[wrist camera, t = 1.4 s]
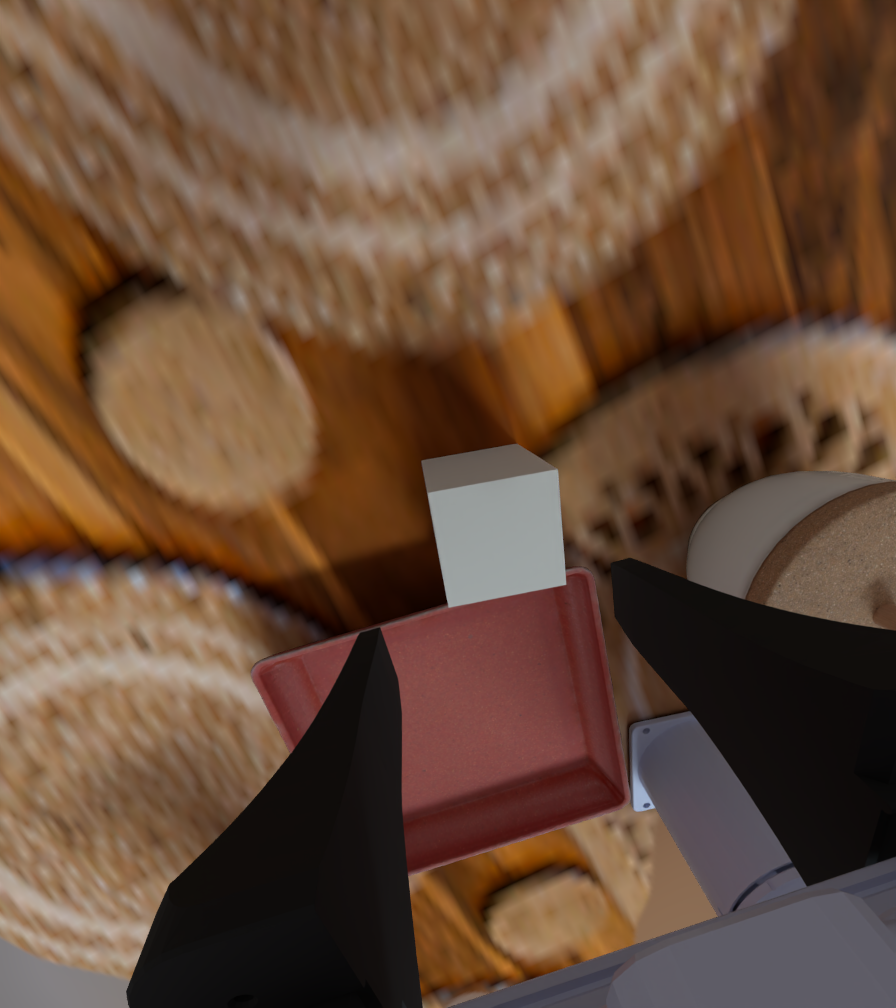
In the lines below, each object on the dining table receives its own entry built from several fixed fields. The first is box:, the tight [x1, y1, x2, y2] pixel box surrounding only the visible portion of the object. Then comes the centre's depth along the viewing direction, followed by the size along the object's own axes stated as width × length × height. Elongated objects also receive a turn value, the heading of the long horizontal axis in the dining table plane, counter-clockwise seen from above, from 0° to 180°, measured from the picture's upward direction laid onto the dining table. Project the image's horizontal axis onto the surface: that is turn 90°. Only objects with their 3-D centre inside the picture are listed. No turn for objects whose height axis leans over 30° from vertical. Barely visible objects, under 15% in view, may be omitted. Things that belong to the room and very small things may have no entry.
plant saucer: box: [251, 566, 631, 876], centre depth 25 cm, size 18×18×3 cm
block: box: [421, 444, 566, 608], centre depth 19 cm, size 5×5×6 cm
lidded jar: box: [686, 471, 896, 630], centre depth 20 cm, size 11×11×9 cm
